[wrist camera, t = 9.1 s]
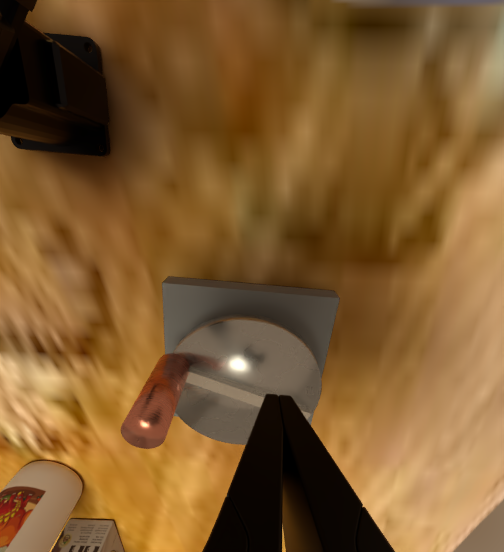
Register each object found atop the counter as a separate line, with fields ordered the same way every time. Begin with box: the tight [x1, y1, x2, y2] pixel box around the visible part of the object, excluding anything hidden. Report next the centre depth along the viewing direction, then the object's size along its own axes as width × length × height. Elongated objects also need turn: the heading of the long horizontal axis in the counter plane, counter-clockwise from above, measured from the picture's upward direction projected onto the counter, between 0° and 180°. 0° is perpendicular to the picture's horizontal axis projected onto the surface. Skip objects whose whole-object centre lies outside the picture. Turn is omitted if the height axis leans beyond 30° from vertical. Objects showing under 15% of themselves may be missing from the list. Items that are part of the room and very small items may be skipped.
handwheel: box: [121, 314, 322, 449], centre depth 18 cm, size 13×12×8 cm
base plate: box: [162, 276, 340, 425], centre depth 22 cm, size 14×14×2 cm
